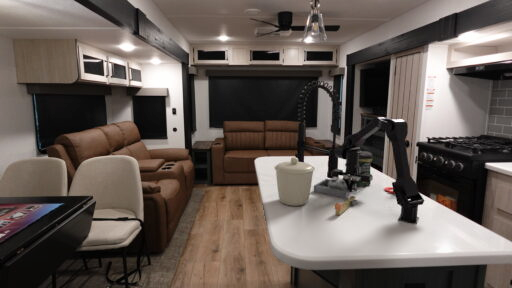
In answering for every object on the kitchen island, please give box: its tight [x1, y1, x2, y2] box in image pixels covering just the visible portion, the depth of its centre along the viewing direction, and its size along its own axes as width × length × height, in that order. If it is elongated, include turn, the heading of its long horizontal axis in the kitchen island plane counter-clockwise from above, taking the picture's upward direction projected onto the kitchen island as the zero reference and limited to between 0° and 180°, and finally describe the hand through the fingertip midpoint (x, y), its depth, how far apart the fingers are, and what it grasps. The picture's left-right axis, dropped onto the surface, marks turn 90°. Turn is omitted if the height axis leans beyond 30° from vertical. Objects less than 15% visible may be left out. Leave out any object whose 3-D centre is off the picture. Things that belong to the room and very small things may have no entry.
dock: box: [313, 178, 358, 207], centre depth 142 cm, size 23×23×4 cm
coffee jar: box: [351, 151, 373, 187], centre depth 157 cm, size 10×8×19 cm
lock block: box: [328, 175, 349, 192], centre depth 145 cm, size 10×7×7 cm
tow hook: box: [383, 173, 397, 195], centre depth 146 cm, size 8×13×9 cm
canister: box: [273, 156, 315, 207], centre depth 130 cm, size 18×18×21 cm
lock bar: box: [334, 195, 356, 216], centre depth 124 cm, size 20×2×4 cm, turn 144°
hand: (350, 192), depth 142 cm, fingers closed
